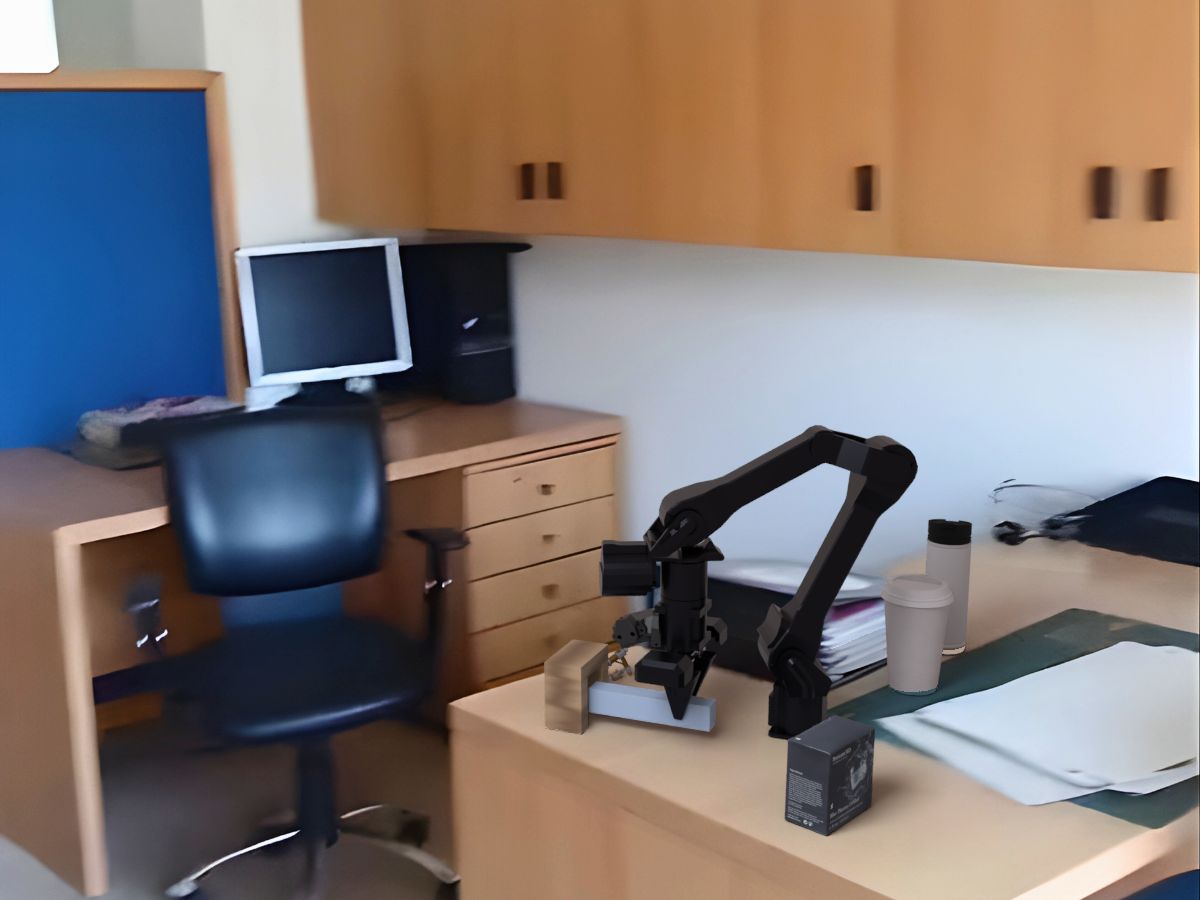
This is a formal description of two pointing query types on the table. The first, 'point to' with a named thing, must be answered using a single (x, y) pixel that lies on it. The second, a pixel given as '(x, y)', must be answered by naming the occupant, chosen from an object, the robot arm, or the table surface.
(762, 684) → the table surface
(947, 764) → the table surface
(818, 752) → the box
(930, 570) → the travel mug
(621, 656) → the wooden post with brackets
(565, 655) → the wooden block
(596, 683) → the light blue rectangular bar
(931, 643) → the coffee cup
